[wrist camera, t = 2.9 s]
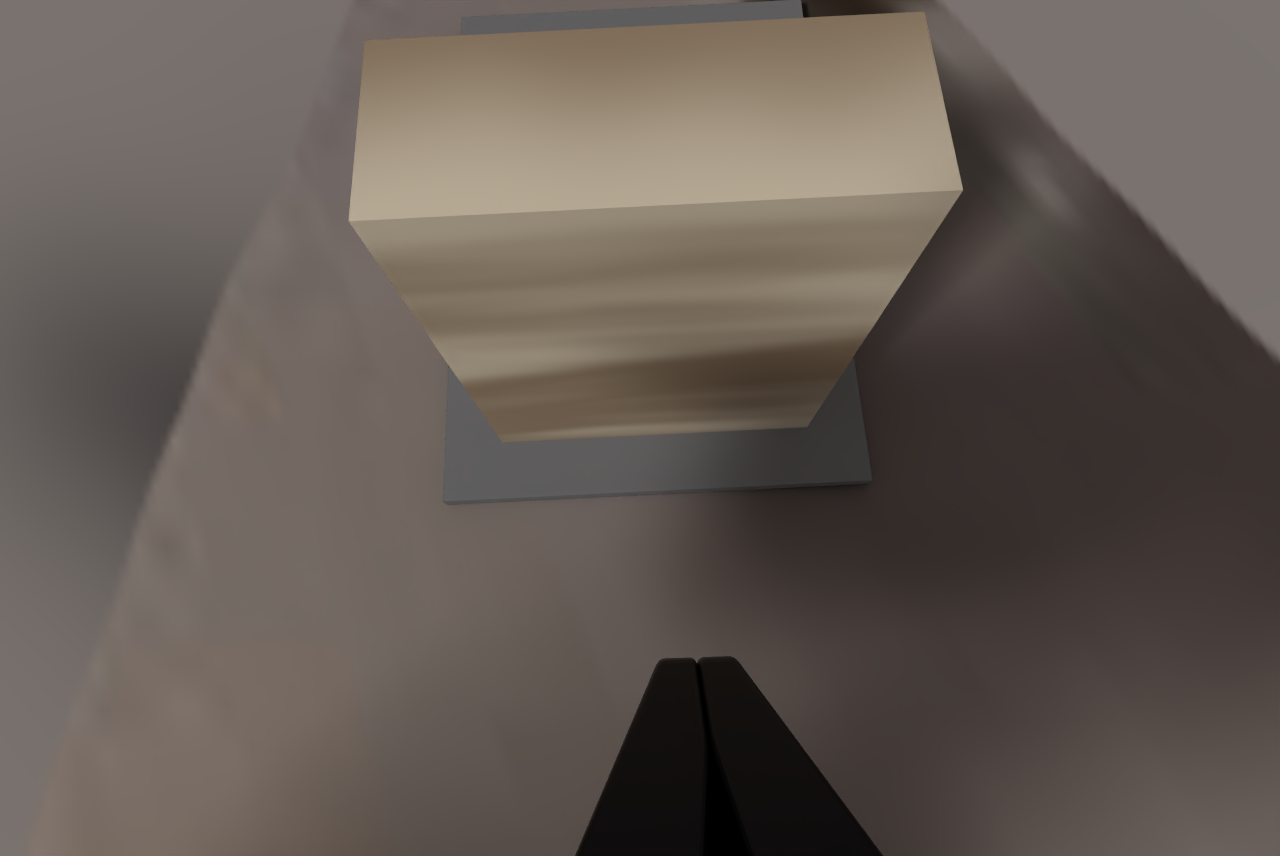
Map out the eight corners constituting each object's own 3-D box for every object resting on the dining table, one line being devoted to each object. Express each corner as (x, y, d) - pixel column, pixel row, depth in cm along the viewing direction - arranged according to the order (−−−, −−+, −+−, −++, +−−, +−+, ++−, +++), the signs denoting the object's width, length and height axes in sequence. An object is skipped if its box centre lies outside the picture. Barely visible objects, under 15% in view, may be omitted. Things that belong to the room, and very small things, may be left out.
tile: (807, 427, 19) (963, 190, 9) (501, 442, 19) (348, 221, 9) (792, 310, 20) (919, -10, 10) (503, 324, 20) (367, 19, 10)
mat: (868, 483, 19) (872, 480, 18) (447, 504, 19) (443, 501, 18) (798, 10, 24) (800, -1, 23) (464, 27, 24) (461, 17, 23)
